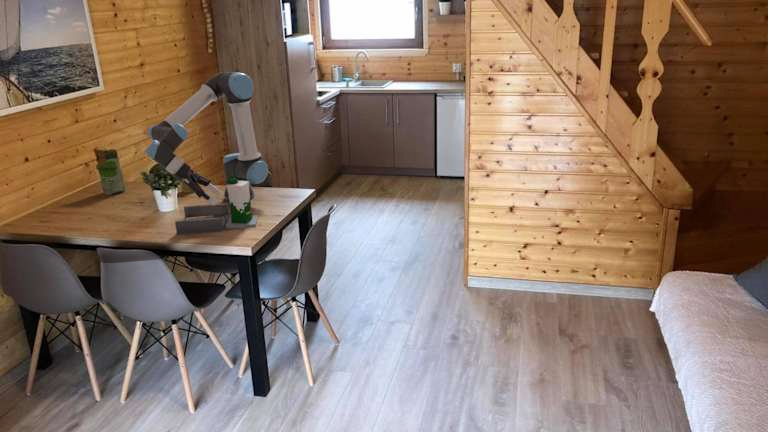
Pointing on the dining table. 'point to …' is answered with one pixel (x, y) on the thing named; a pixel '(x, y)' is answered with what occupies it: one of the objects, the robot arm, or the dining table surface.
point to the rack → (203, 224)
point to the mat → (248, 224)
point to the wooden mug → (186, 187)
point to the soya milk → (239, 200)
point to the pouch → (109, 170)
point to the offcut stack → (199, 217)
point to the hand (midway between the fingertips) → (217, 198)
